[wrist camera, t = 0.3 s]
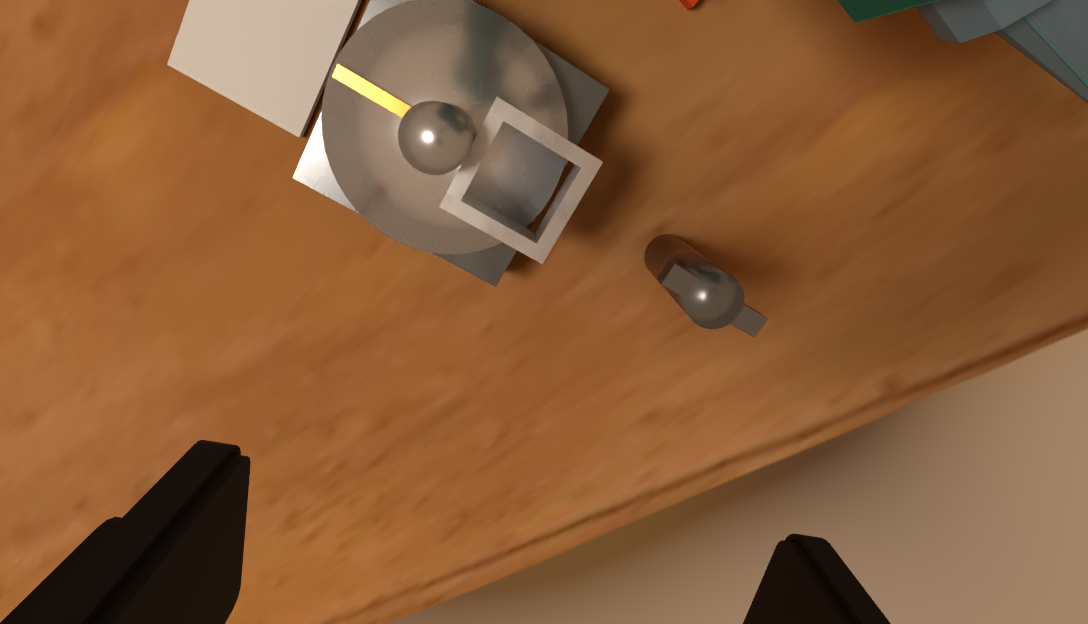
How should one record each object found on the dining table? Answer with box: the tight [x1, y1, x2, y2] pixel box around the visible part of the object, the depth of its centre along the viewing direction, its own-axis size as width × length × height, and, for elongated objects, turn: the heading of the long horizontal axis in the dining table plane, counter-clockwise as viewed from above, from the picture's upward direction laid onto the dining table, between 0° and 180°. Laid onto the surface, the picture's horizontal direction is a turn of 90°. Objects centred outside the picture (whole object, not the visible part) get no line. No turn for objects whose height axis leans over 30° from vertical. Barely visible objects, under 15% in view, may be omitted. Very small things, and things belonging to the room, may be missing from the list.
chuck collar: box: [321, 0, 603, 264], centre depth 28 cm, size 13×14×6 cm
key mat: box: [167, 0, 362, 137], centre depth 32 cm, size 10×8×1 cm
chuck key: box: [644, 234, 768, 337], centre depth 34 cm, size 3×6×10 cm, turn 60°
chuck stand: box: [293, 0, 610, 287], centre depth 33 cm, size 13×13×4 cm
